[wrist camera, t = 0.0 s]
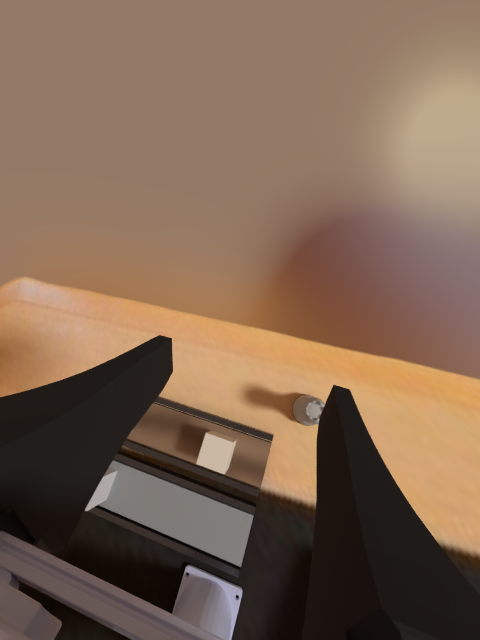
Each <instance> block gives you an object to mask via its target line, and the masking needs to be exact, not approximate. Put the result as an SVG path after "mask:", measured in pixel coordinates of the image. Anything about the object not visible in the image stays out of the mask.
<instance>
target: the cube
mask: <svg viewBox="0 0 480 640" xmlns="http://www.w3.org/2000/svg"><path fill="white" fill-rule="evenodd" d="M236 440H237V439H235V438H232V437H230V436H227V435H224V434H221V433H218V432H215V431H212V430H211V431H209V432H207V433H206V434H205V437H204V440H203V443H202V447H201V450H200V453H199V456H198V459H197V463H196V464H198V465H200V466H203V467H206V468H208V469H211V470H214V471H216V472H219V473H222V474H225V473H226V471H227V470H228V468H229V465H230V462H231V458H232V455H233V451H234V448H235V444H236Z"/></svg>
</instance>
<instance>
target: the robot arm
mask: <svg viewBox="0 0 480 640" xmlns="http://www.w3.org/2000/svg"><path fill="white" fill-rule="evenodd" d="M172 372H173V361H172V338H168V337H165V336H161V335H159V336H157V337H155V338H153V339H151V340H149V341H147V342H145V343H143V344H141V345H139V346H137V347H135V348H134V349H132V350H130V351H128V352H126V353H124V354H122V355H120V356H118V357H116V358H114V359H111V360H109V361H107V362H105V363H103V364H100V365H98V366H96V367H94V368H92V369H89V370H87V371H84V372H82V373H79V374H77V375H74V376H71V377H69V378H66V379H63V380H60V381H57V382H54V383H51V384H47V385H44V386H41V387H38V388H35V389H31V390H28V391H24V392H20V393H16V394H12V395H8V396H4V397H0V640H54V638H55V637H56V635H57V633H58V631H59V630H60V628H61V626H62V622H61V621H60V620H59V619H57V618H56V617H54V616H53V615H52V614H50V613H49V612H48V611H47V610H46V609H44V608H43V606H42V605H41V604H40V603H39V602H37V601H36V600H34V599H32V598H31V597H29V596H27V595H26V594H24V593H22V592H21V591H19V590H18V588H19V581H21V582H23V583H25V584H27V585H29V586H31V587H33V588H34V589H36V590H38V591H40V592H42V593H44V594H46V595H48V596H50V597H52V598H53V599H55V600H57V601H59V602H61V603H63V604H65V605H67V606H69V607H71V608H73V609H74V610H76V611H78V612H80V613H82V614H84V615H86V616H88V617H90V618H92V619H93V620H95V621H97V622H99V623H101V624H103V625H105V626H107V627H109V628H111V629H112V630H114V631H116V632H118V633H120V634H122V635H124V636H126V637H128V638H130V639H132V640H231V638H232V634H233V630H234V626H235V621H236V617H237V613H238V609H239V605H240V601H241V597H242V588H241V587H239V586H237V585H235V584H233V583H230V582H228V581H226V580H224V579H221V578H219V577H217V576H215V575H212V574H210V573H208V572H206V571H204V570H201V569H199V568H197V567H195V566H192V565H190V564H189V565H187V566H186V568H185V571H184V575H183V578H182V582H181V585H180V588H179V592H178V595H177V599H176V602H175V605H174V609H173V612H172V614H171V613H169V612H167V611H165V610H163V609H161V608H158V607H156V606H154V605H152V604H150V603H148V602H146V601H144V600H142V599H140V598H138V597H136V596H134V595H132V594H130V593H128V592H126V591H124V590H122V589H120V588H118V587H116V586H114V585H112V584H110V583H108V582H106V581H103V580H101V579H99V578H97V577H95V576H93V575H91V574H89V573H87V572H85V571H83V570H81V569H79V568H77V567H75V566H73V565H71V564H69V563H67V562H65V561H63V560H61V559H59V558H57V557H55V556H53V555H51V554H54V553H57V552H59V551H61V550H63V549H64V548H66V546H67V544H68V542H69V540H70V538H71V536H72V534H73V532H74V530H75V528H76V526H77V524H78V522H79V520H80V518H81V516H82V514H83V513H84V511H85V509H86V507H87V505H88V503H89V501H90V500H91V498H92V496H93V494H94V492H95V491H96V489H97V487H98V485H99V483H100V482H101V480H102V478H103V476H104V475H105V473H106V471H107V470H108V468H109V466H110V464H111V463H112V461H113V459H114V458H115V456H116V455H117V453H118V451H119V450H120V448H121V446H122V445H123V443H124V442H125V440H126V438H127V437H128V436H129V434H130V433H131V431H132V430H133V429H134V427H135V426H136V425H137V423H138V422H139V421H140V419H141V418H142V417H143V415H144V414H145V413H146V411H147V410H148V409H149V408H150V406H151V405H152V404H153V402H154V401H155V400H156V398H157V397H158V396H159V394H160V393H161V391H162V390H163V388H164V387H165V385H166V383H167V381H168V380H169V378H170V376H171V374H172ZM26 542H28V543H30V544H32V545H34V546H37V547H39V548H41V549H43V550H45V551H47V552H49V553H51V554H48V553H46V552H44V551H42V550H40V549H38V548H36V547H34V546H32V545H30V544H28V543H26ZM187 572H188V573H189V576H188V575H187V574H186V573H187ZM18 580H19V581H18ZM236 595H238V596H239V598H236ZM302 640H480V595H479V594H478V592H477V591H476V590H475V589H474V588H473V587H472V585H471V584H470V583H469V582H468V581H467V579H466V578H465V577H464V576H463V574H462V573H461V572H460V571H459V569H458V568H457V567H456V566H455V564H454V563H453V562H452V561H451V559H450V558H449V557H448V556H447V554H446V553H445V552H444V551H443V549H442V548H441V547H440V545H439V544H438V543H437V541H436V540H435V539H434V537H433V536H432V535H431V533H430V532H429V530H428V529H427V528H426V526H425V525H424V524H423V522H422V521H421V520H420V518H419V517H418V515H417V514H416V513H415V511H414V510H413V508H412V507H411V505H410V504H409V502H408V501H407V499H406V498H405V496H404V495H403V493H402V492H401V490H400V488H399V487H398V485H397V484H396V482H395V480H394V479H393V477H392V475H391V474H390V472H389V470H388V469H387V467H386V465H385V463H384V461H383V460H382V458H381V456H380V454H379V452H378V450H377V449H376V447H375V445H374V443H373V441H372V439H371V437H370V435H369V433H368V430H367V428H366V426H365V424H364V422H363V420H362V418H361V415H360V413H359V411H358V408H357V406H356V404H355V401H354V399H353V396H352V394H351V392H350V390H349V389H346V388H343V387H339V386H336V385H333V387H332V390H331V392H330V394H329V397H328V399H327V401H326V404H325V406H324V408H323V411H322V413H321V415H320V418H319V426H318V434H317V502H316V518H315V529H314V540H313V549H312V559H311V569H310V577H309V586H308V594H307V603H306V610H305V618H304V626H303V633H302Z"/></svg>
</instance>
